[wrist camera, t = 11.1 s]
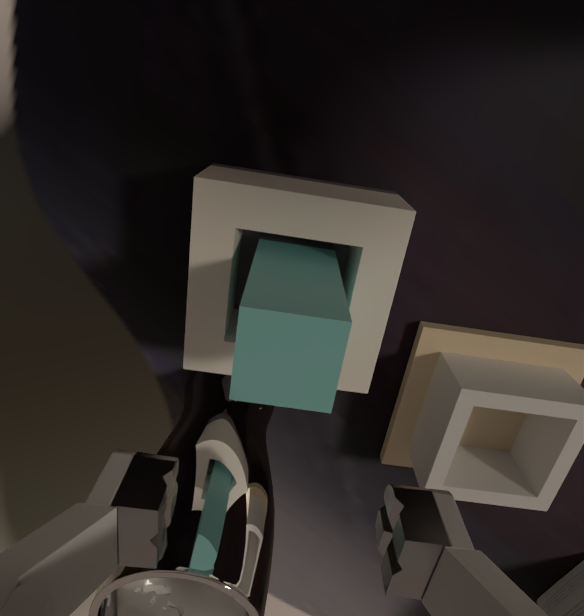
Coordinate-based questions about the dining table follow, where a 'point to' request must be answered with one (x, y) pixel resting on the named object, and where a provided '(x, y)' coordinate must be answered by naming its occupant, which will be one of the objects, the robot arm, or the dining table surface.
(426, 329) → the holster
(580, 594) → the supplement box
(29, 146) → the dining table surface
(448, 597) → the robot arm
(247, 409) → the beer glass
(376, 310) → the port block
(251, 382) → the plug
